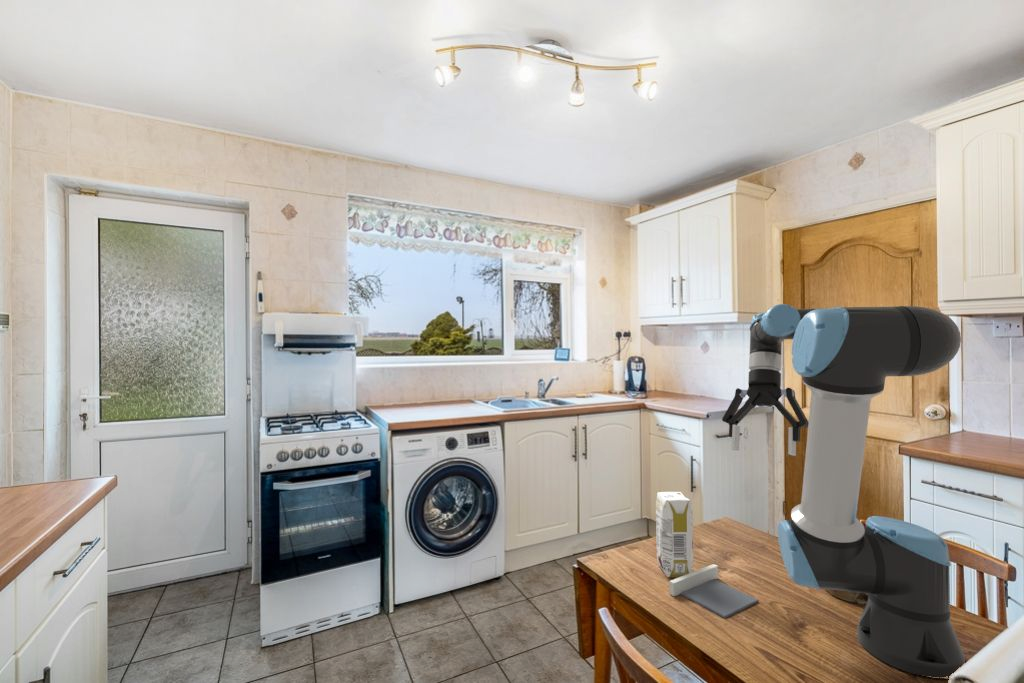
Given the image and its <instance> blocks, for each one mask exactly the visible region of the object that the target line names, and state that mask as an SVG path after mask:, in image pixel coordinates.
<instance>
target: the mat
mask: <svg viewBox="0 0 1024 683" xmlns="http://www.w3.org/2000/svg"><path fill="white" fill-rule="evenodd" d="M680 595H681V596H682V597H684V598H686V599H688V600H690V601H692V602H693V603H695V604H697V605H699V606H700V607H703V608H705V609H706V610H708V611H710V612H713V613H714V614H716V615H718V616H720V618H721V617H722V618H723V619H727V618H729V617H731V616H733V615H734V614H736V613H738V612H741V611H743V610H745V609H747V608H748V607H751V606H753V605H755V604H757V603H759V599H758V598H756V597H753V596H751V595H750V594H747V593H745V592H743V591H741V590H739V589H736V588H734V587H732V586H730V585H728V584H727V583H724V582H722V581H720V580H717V579H713V580H711V581H708V582H706V583H703V584H701V585H699V586H696V587H694V588H691V589H689V590H686V591H684V592H682V593H681V594H680ZM726 617H727V618H726Z"/></svg>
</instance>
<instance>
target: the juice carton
mask: <svg viewBox="0 0 1024 683" xmlns="http://www.w3.org/2000/svg"><path fill="white" fill-rule="evenodd" d="M693 520H694V519H693V506H692V500H691V499H689V498H688V497H686V496H685V495H684V494H683V492H682V491H658V492H657V494H656V500H655V524H656V525H655V527H656V528H655V529H656V531H655V532H656V533H655V535H656V536H655V538H656V540H655V542H656V544H655V545H656V547H655V548H656V559H657V564H658V566H659V568H660V569H661V571H663V573H664V575H665V576H666V577H667V578H671V579H672V578H679V577H681V576H684V575H686V574H689V573H692V572H693V569H694V568H693V567H694V537H693V536H694V535H693V534H694V533H693V532H694V530H693V526H694V525H693V524H694V523H693Z"/></svg>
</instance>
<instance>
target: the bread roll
mask: <svg viewBox="0 0 1024 683" xmlns="http://www.w3.org/2000/svg"><path fill="white" fill-rule="evenodd" d="M824 590H825V591H826V592H827V593H828V594H829V595H830V596H833V597H836V598H837V599H840V600H842V601H846V602H848V603H856V604H859V605H864V604H865V605H866V603H867V601H868V593H861V592H850V591H840V590H830V589H824Z"/></svg>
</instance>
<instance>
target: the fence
mask: <svg viewBox="0 0 1024 683" xmlns="http://www.w3.org/2000/svg"><path fill="white" fill-rule="evenodd" d="M713 579H716V580H717V579H719V565H717V564H715V563H712V564H710V565H708V566H704V567H702V568H700V569H697V570H694V571H692V573H689V574H686V575H684V576H681V577H675V578H674V579H671V580H669V584H668V585H669V586H668V587H669V595H671V596H672V597H677V596H678V595H681V593H682V592H684V591H686V590H689V589H691V588H694V587H696V586H699V585H701V584H703V583H706V582H708V581H711V580H713Z"/></svg>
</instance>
